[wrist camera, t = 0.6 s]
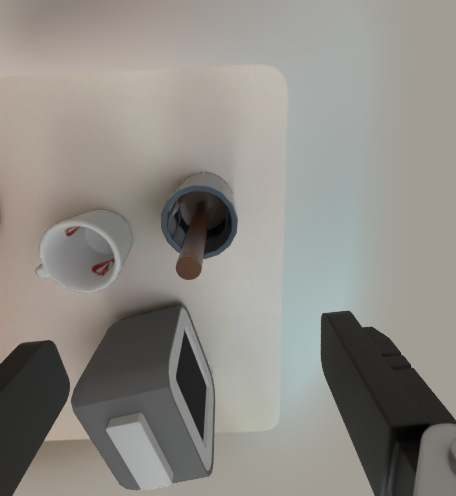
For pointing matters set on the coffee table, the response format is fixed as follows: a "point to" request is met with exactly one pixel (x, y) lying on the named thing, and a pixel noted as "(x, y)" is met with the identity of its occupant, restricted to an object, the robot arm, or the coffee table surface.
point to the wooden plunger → (197, 229)
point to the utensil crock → (178, 228)
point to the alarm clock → (150, 401)
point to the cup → (85, 251)
